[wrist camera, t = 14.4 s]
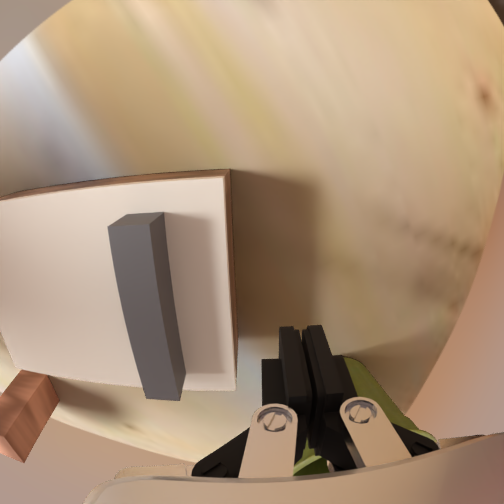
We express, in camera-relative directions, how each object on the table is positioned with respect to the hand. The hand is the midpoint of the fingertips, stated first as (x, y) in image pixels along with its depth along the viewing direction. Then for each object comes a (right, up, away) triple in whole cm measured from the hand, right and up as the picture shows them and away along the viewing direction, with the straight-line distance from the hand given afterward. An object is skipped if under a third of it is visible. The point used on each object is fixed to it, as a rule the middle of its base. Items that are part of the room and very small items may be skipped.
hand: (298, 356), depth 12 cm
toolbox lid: (-12, +2, +6) cm, 13 cm away
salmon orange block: (-26, -11, +15) cm, 32 cm away
